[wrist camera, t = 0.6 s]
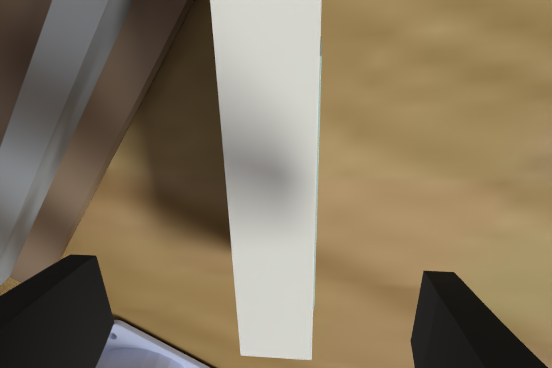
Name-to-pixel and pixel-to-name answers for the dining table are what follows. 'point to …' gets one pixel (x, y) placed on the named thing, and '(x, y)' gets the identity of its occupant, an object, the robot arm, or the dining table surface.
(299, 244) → the tall cream box
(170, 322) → the dining table surface
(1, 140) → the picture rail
